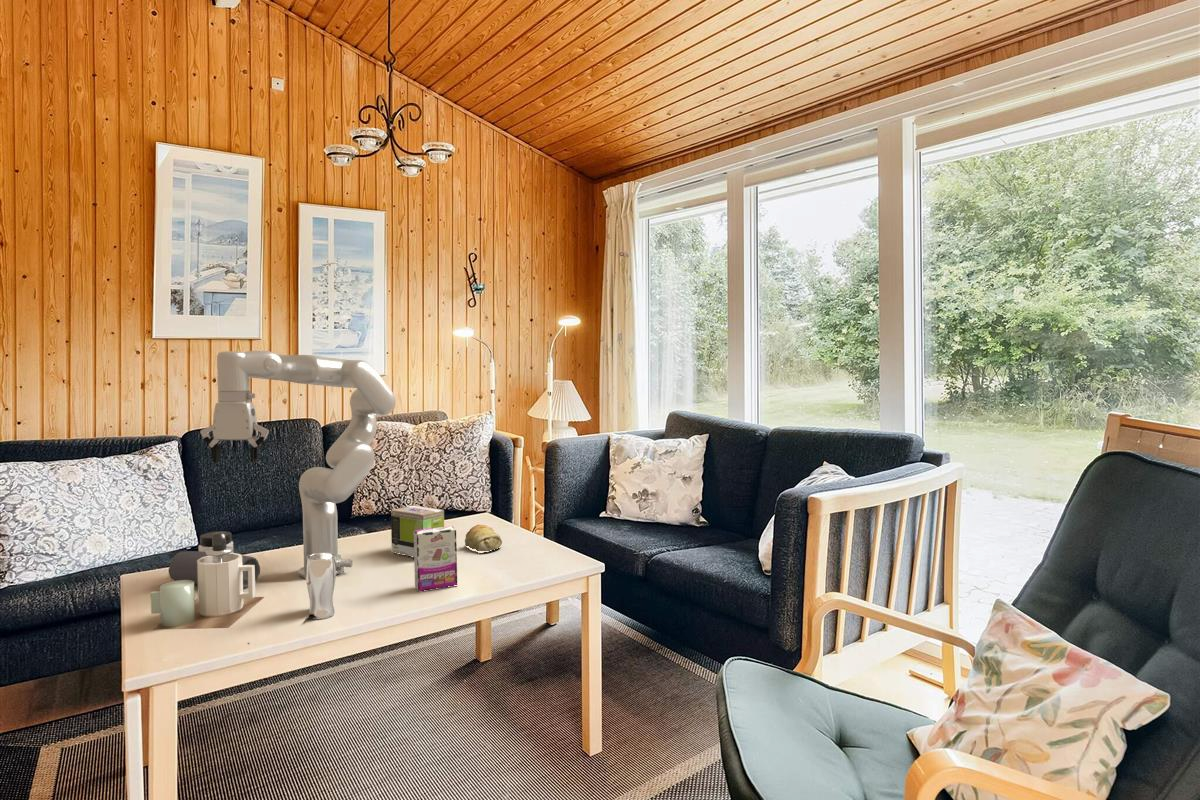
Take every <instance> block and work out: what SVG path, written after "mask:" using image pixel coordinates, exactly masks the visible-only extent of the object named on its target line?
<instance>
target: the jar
mask: <svg viewBox="0 0 1200 800" xmlns="http://www.w3.org/2000/svg"><path fill="white" fill-rule="evenodd" d="M217 532H226V546H231V547H233V548H234V541H233V540H232V532H230V531H226V530H225V531H222V530H221V531H211V532H207V533H203V534H200V536H199V545H198V551H201V552H206V550H207V549H209V548H213V546H212V534H213V533H217ZM232 553H234V551H233V552H232Z"/></svg>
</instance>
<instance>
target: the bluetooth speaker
mask: <svg viewBox="0 0 1200 800" xmlns="http://www.w3.org/2000/svg"><path fill="white" fill-rule="evenodd" d="M241 555H242V554H241ZM205 556H208V555H206V552H201V551H199V550H198V551H194V550H189V551H188V550H187V551H186V550H185V551H179V552H177V553H175V555H174V556H172V559H171V560H170V563H169V567H168V576H169V578H170V579H171V580H172V581H178V580H191V581H194V586H198V581H197V560H198V559H200V558H202V557H205ZM242 565H255V583H256V582H257V580H258V579H259V577H260V573H261V567H260V563H259V560H257V558H256V557H253V556H251V555H242ZM243 589H248V571H243Z"/></svg>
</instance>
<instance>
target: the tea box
mask: <svg viewBox="0 0 1200 800" xmlns="http://www.w3.org/2000/svg"><path fill="white" fill-rule="evenodd" d="M390 514H391V515H390V525H391V526H390V528H391V531H390V532H391V535H390V536H391V538H390V539H391V540H390V541H391V553H392V552H396V553H400V554H405V555H410V556H413V557H414V531H415V530H423V529H431V528H439V527H445V510H444V509H440V508H433V507H429V506H428V507H426V506H421V505H420V506H419V505H408V506H403V507H399V508H394V509H391V510H390ZM413 557H412V558H413Z"/></svg>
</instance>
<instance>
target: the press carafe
mask: <svg viewBox="0 0 1200 800" xmlns="http://www.w3.org/2000/svg"><path fill="white" fill-rule="evenodd" d="M243 571H248V587H247V589H248V592H244V588H243ZM197 581H198V585H197V598H198V609H199V615H201V616H204V617H218V616H225V615H229V614H233V613H235V612H238V611H240V610H241V609H242V608H243V599H247V598H254V597H256V582H255V565H242V554H241V553H236V552H233V553H230V554H226V555H222V563H218V559H217V556H205V557H202V558H200V559H198V560H197Z"/></svg>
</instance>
